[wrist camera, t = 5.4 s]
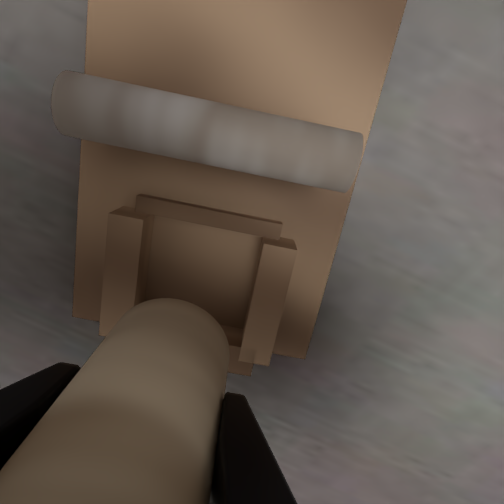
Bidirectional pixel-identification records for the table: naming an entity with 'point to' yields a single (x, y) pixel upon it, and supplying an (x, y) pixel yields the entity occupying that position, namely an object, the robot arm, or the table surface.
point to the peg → (132, 417)
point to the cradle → (221, 157)
